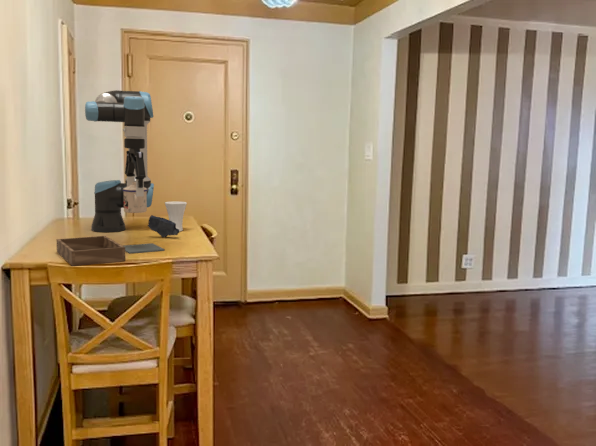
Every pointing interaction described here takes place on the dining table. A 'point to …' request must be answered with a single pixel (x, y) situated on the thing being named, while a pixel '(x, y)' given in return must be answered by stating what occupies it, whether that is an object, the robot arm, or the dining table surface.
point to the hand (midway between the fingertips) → (135, 194)
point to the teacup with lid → (134, 200)
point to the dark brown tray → (90, 250)
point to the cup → (176, 212)
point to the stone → (162, 226)
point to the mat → (142, 248)
